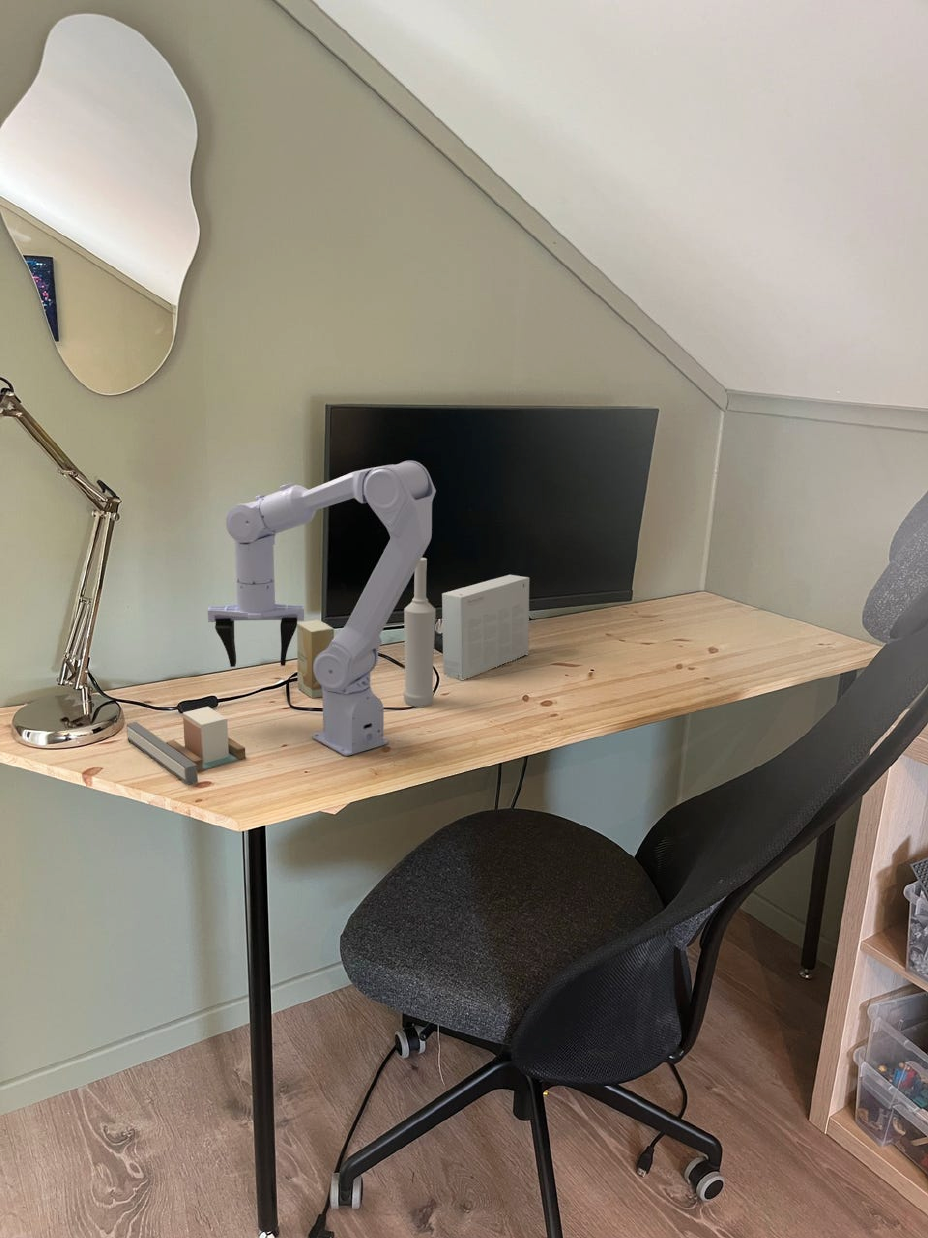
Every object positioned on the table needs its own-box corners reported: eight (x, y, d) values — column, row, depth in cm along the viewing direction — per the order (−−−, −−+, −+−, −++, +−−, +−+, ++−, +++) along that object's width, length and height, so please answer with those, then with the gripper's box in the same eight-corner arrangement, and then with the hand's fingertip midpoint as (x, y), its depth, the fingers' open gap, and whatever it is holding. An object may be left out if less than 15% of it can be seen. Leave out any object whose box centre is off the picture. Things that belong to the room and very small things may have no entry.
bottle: (426, 709, 162) (429, 563, 155) (398, 704, 164) (399, 560, 157) (438, 699, 167) (441, 557, 160) (410, 695, 169) (412, 554, 162)
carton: (209, 744, 146) (208, 706, 144) (228, 756, 141) (227, 718, 140) (183, 750, 143) (181, 712, 141) (202, 764, 139) (200, 725, 137)
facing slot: (245, 757, 142) (245, 747, 141) (194, 772, 136) (194, 761, 136) (216, 739, 148) (215, 729, 148) (166, 752, 143) (166, 742, 142)
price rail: (197, 781, 134) (196, 764, 133) (186, 784, 133) (185, 768, 132) (137, 737, 148) (136, 721, 147) (126, 739, 147) (125, 724, 146)
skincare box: (296, 688, 171) (295, 621, 167) (319, 684, 173) (318, 618, 170) (312, 699, 165) (311, 631, 162) (335, 695, 168) (334, 627, 164)
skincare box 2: (507, 650, 196) (510, 573, 191) (529, 655, 192) (533, 577, 188) (439, 674, 180) (440, 591, 175) (462, 681, 176) (464, 597, 172)
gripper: (203, 586, 143) (208, 673, 147) (302, 585, 145) (304, 671, 149) (209, 575, 150) (213, 659, 154) (303, 575, 152) (305, 657, 156)
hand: (258, 664), depth 152 cm, fingers open, 7 cm apart
